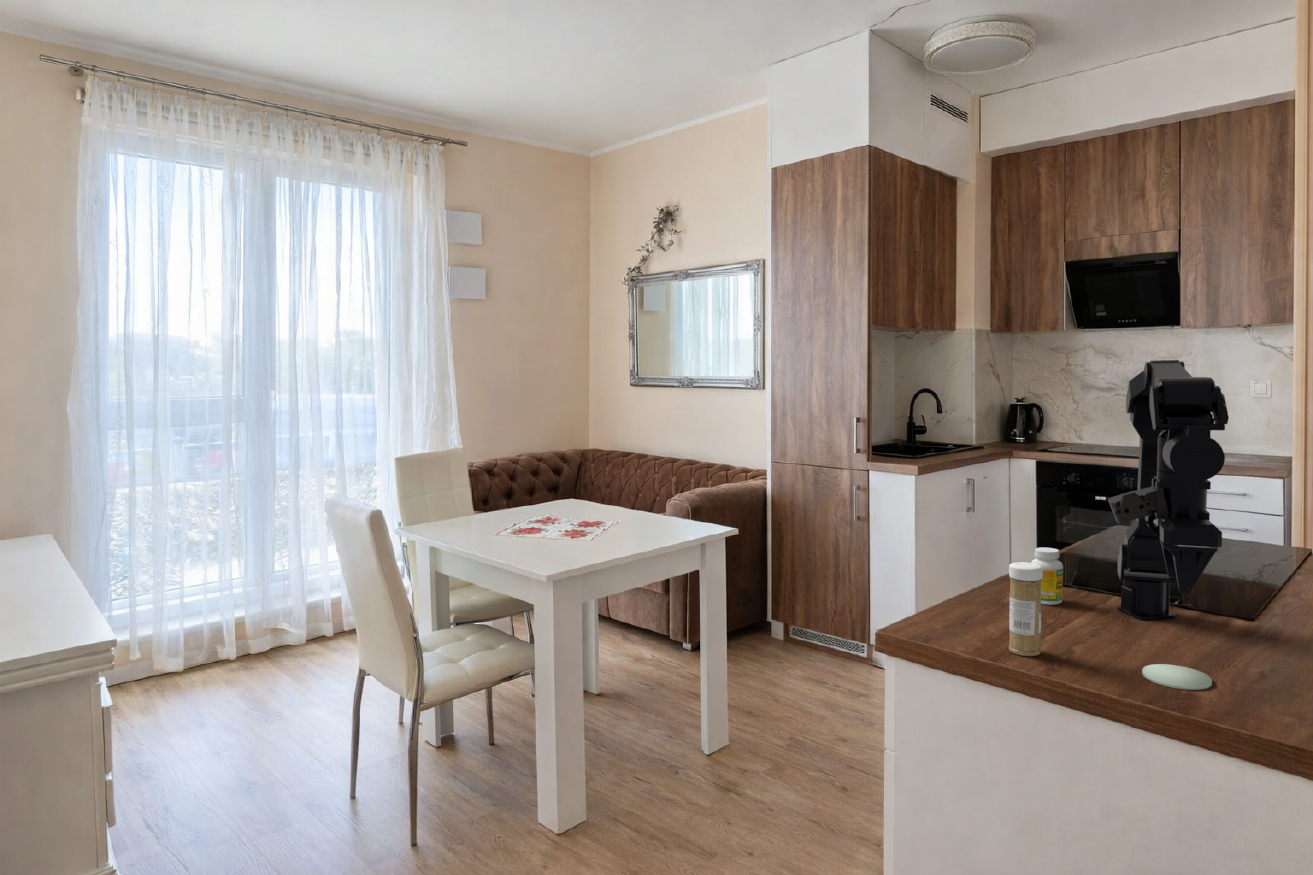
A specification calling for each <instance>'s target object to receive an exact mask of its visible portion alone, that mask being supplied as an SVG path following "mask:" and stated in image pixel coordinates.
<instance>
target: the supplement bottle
mask: <svg viewBox="0 0 1313 875" xmlns="http://www.w3.org/2000/svg"><path fill="white" fill-rule="evenodd" d="M1034 549H1035V550H1034V557H1035V558H1034V559H1032V560H1031V562H1030V563H1034V564H1038V565H1040V566H1041V567H1042V572H1043V576H1042V579H1041V580H1042V581H1041V605H1047V606H1048V605H1051V606H1053V605H1054V606H1055V605H1059V604H1062V602H1063V595H1064V594H1063V593H1064V592H1063V590H1064V588H1063V583H1064V565H1063V562H1061V561H1060V560H1058V559H1059V558H1060V549H1058V548H1053V547H1042V546H1041V547H1036V548H1034Z"/></svg>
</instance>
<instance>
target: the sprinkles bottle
mask: <svg viewBox="0 0 1313 875" xmlns="http://www.w3.org/2000/svg"><path fill="white" fill-rule="evenodd" d="M1008 568H1009V569H1008V576H1009V581H1010V584H1009V591H1010V592H1009V617H1008V618H1009V620H1008V621H1009V623H1008V624H1009V644H1008V650H1009V651H1010V652H1012V653H1013V654H1015V655H1017V656H1023V657H1036V656H1039V655H1041V653H1042V649H1041V639H1042V637H1041V635H1042V610H1041V609H1042V607H1041V606H1042V604H1041V581H1042V580H1041V579H1042V576H1043V572H1042V567H1041V566H1040V565H1038V564H1034V563H1031V562H1026V561H1025V562H1024V561H1023V562H1022V561H1019V562H1011V563H1010V564H1009V567H1008Z"/></svg>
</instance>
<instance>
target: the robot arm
mask: <svg viewBox="0 0 1313 875" xmlns="http://www.w3.org/2000/svg"><path fill="white" fill-rule="evenodd" d="M1215 383H1216V382H1215V380H1214V379H1213V378H1212V377H1210V376H1209V377H1207V376H1192V375H1191V374H1190V372H1189V371H1188V370H1186V367H1185V362H1184V361H1180V360H1179V359H1171V360H1170V359H1165V360H1163V359H1162V360H1150V361H1149V362H1148V361H1147V362H1145V363H1144V368H1143V370H1142V371H1141V372H1139V373H1138V374H1136V376H1134V377H1133V378H1131V379H1130V380H1129V381H1128V385H1127V386H1128V387H1127V390H1126V397H1125V398H1126V399H1125V409H1126V410H1125V411H1126V414H1129V420H1130V422H1131V424H1132V426H1133V429H1135V431H1136V433H1137V434H1138V436H1139V449H1138V452H1139V453H1138V469H1137V470H1138V472H1137V473H1138V474H1137V490H1131V491H1128V492H1125V493H1123V492H1122V493H1121V494H1118V495H1114V496H1112V497H1111V496H1110V497H1109V498H1108V499H1107V501H1108V504H1109V506H1110V508H1111V511H1112V514H1113V516H1114V520H1115V521H1116V523H1117V524H1118V525H1123V524H1127V523H1131V521H1133V522H1132V523H1131V524H1130V526H1129V527H1128V528H1127V529H1126V531H1125V533H1124V543H1123V544H1122V543H1121V544H1119V550H1118V551H1119V552H1118V558H1117V575H1118V578H1119V580H1123V584H1122V586H1121V588H1120V605H1117V606H1116V609H1117V610H1118V611H1121V612H1124V613H1125V614H1128V615H1129V616H1131V617H1132V616H1133V617H1134V618H1137V619H1139V620H1154V619H1155V620H1157V619H1174V618H1175V619H1176V618H1177V614H1176V613H1173V612H1171V611H1170V599H1171V598H1170V592H1171V590H1170V589H1171V584H1175V585H1176V584H1177V588H1178V592H1179V594H1181V595H1190V594H1191V592H1192V590H1193V589H1194V587H1195V586H1196V584H1197V582H1198V580H1199V579H1200V577H1201V576H1202V575H1203V572H1204V571H1205V570H1206V568H1207V566H1208V565H1209V563H1210V561H1211V560H1212V558H1213V556H1214V555H1215V554H1216V553H1217V552H1218V551H1219V548H1222V546H1223V545H1222V544H1223V532H1222V530H1220V529H1219V528H1218V527H1217V526H1216V525H1215V524H1213V523H1212V522H1211V521H1210V517H1211V516H1210V514H1211V513H1210V512H1209V511H1208V510H1207V504H1208V503H1207V502H1208V501H1207V500H1208V490H1211V489H1212V488H1211V485H1212V484H1211V483H1212V482H1211V481H1210V479H1212V478H1214V477H1215V476H1217V475H1218V474H1219V472H1221V470H1222V468H1223V466H1224V465H1225V461H1226V458H1225V457H1226V455H1225V452H1224V449H1223V448H1222V445H1220V443H1219V442H1218V441H1216V440H1215V439H1214V438H1212V437H1211V432H1212V431H1225V430H1226V425H1228V423H1229V414H1228V408H1227V402H1226V398H1225V394H1224V393H1222V390H1221V389H1222V388H1221V387H1220V386H1219V385H1216V384H1215Z"/></svg>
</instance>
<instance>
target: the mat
mask: <svg viewBox="0 0 1313 875" xmlns="http://www.w3.org/2000/svg"><path fill="white" fill-rule="evenodd" d="M1141 673H1142V676H1143V677H1144V678H1145V679H1147V680H1149V681H1150V682H1152V683H1154V684H1158V685H1160V686H1164V687H1167V688H1168V687H1169V688H1172V689H1178V690H1186V691H1187V690H1188V691H1200V690H1206V689H1209V688H1210V687H1211V686H1213V685H1212V684H1213V683H1212V682H1213V679H1212V677H1211V676H1209V675H1208V674H1206V673H1205V672H1203V671H1200V670H1197V669H1194V668H1190V667H1187V666H1181V665H1175V664H1168V663H1157V664H1156V663H1155V664H1148V665H1145V666H1143V668H1142V672H1141Z"/></svg>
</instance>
